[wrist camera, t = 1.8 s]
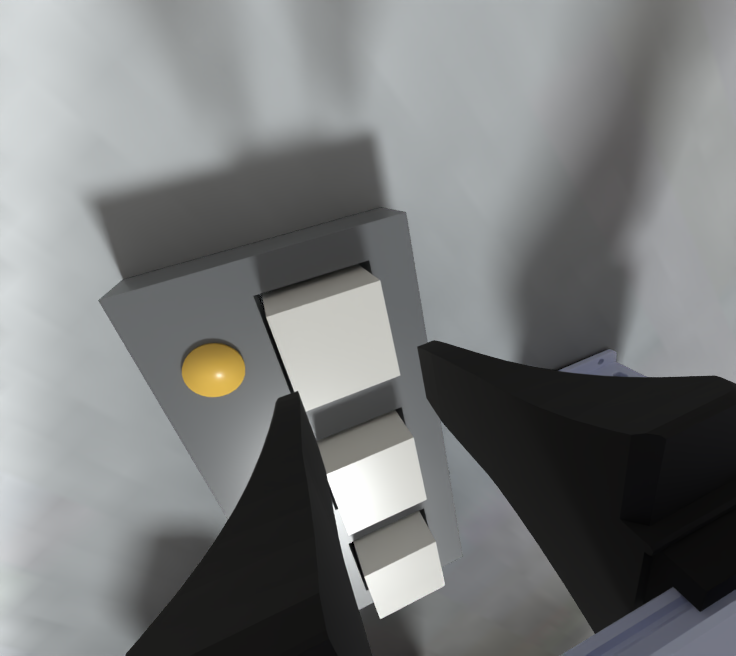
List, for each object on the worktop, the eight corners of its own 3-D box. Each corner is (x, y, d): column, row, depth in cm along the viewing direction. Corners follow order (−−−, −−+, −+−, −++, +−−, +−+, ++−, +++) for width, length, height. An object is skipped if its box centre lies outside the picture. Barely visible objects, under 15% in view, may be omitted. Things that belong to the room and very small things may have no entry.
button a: (357, 264, 16) (380, 280, 14) (377, 347, 18) (400, 375, 16) (261, 293, 15) (266, 317, 13) (293, 377, 17) (302, 413, 15)
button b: (390, 403, 20) (413, 437, 17) (404, 460, 22) (426, 499, 19) (313, 433, 19) (325, 474, 16) (335, 490, 21) (348, 535, 18)
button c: (413, 500, 23) (435, 541, 21) (423, 542, 25) (445, 585, 23) (349, 530, 22) (364, 577, 20) (365, 571, 24) (380, 619, 22)
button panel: (381, 207, 18) (407, 212, 15) (442, 521, 28) (464, 559, 25) (122, 279, 15) (96, 302, 13) (293, 593, 26) (299, 643, 23)
